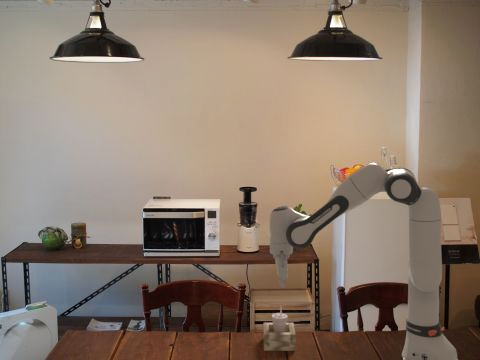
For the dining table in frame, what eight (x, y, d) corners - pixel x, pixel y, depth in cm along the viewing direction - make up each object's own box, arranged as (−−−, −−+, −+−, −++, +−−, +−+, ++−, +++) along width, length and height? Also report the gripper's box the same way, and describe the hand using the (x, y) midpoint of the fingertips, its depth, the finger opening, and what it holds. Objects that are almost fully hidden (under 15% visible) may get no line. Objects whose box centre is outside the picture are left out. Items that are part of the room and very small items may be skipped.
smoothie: (286, 342, 244) (286, 308, 242) (270, 341, 245) (270, 307, 243) (288, 336, 250) (288, 302, 248) (272, 335, 251) (272, 301, 249)
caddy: (293, 337, 252) (293, 322, 251) (295, 350, 240) (295, 334, 239) (263, 338, 252) (263, 322, 251) (264, 350, 240) (264, 334, 239)
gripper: (291, 255, 230) (291, 291, 232) (287, 241, 250) (287, 275, 252) (274, 255, 230) (274, 292, 232) (272, 241, 250) (272, 275, 253)
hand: (281, 283), depth 243 cm, fingers open, 8 cm apart
